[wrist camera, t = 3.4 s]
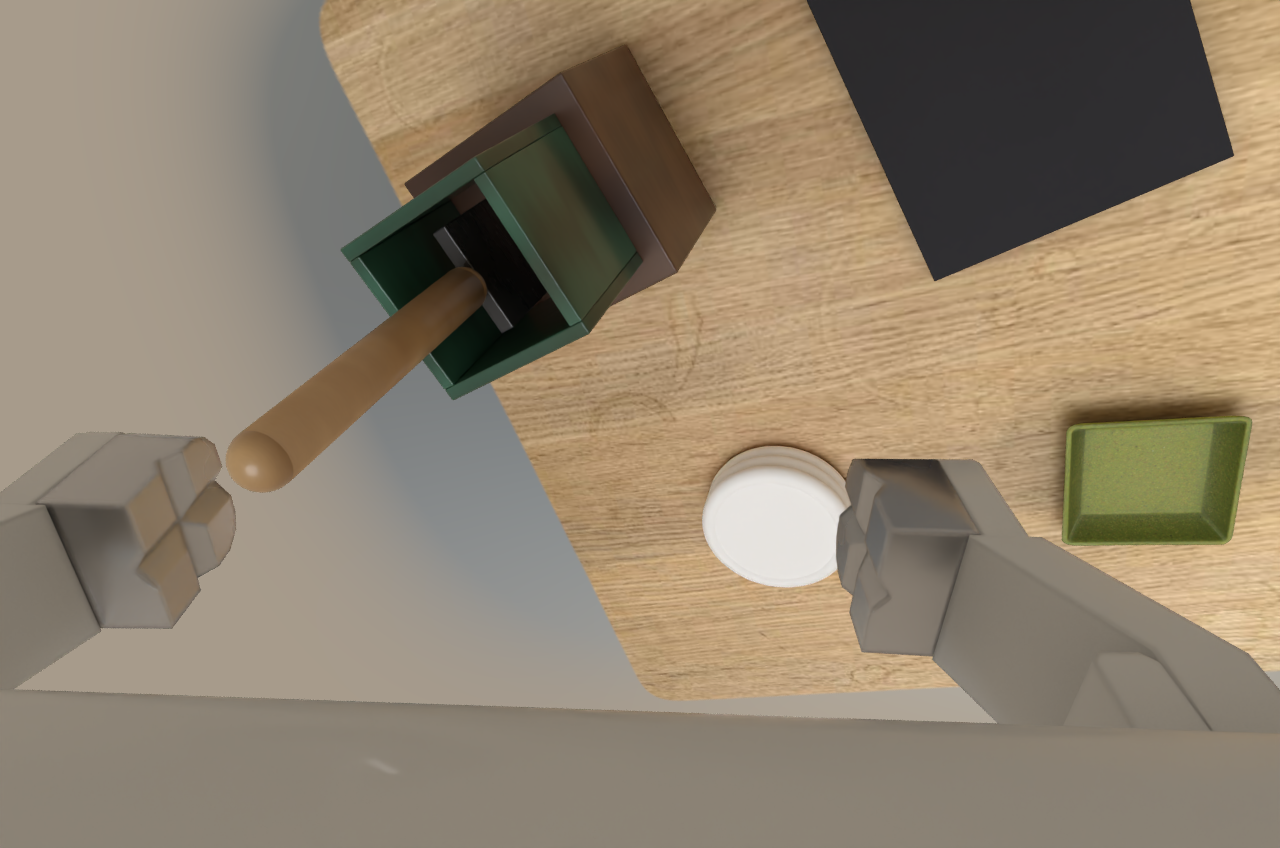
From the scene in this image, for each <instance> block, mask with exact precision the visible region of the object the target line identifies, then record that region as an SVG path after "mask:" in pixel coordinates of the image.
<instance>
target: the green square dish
mask: <svg viewBox="0 0 1280 848" xmlns="http://www.w3.org/2000/svg"><path fill="white" fill-rule="evenodd" d="M1251 428H1252V420H1251V419H1250V418H1249V417H1245V416H1215V417H1197V418H1178V419H1159V420H1140V421H1121V422H1101V423H1080V424H1075V425H1073V426H1071V427H1069V428H1068V430H1067V433H1066V456H1065V480H1064V505H1063V525H1062V541H1063V542H1064V543H1066V544H1068V545H1074V546H1097V545H1223V544H1226V543H1227V542H1229V541H1230V540H1231V538H1232V536H1233V531H1234V524H1235V518H1236V512H1237V506H1238V500H1239V494H1240V489H1241V482H1242V478H1243V472H1244V466H1245V461H1246V456H1247V450H1248V445H1249V439H1250V433H1251Z"/></svg>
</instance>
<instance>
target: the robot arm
mask: <svg viewBox="0 0 1280 848" xmlns="http://www.w3.org/2000/svg"><path fill="white" fill-rule="evenodd" d="M221 468H222V464H221V461H220V458H219V455H218V453H217V450H216V447H215V444H213V443H212V442H210V441H209V440H208V439H206V438H205V437H193V436H174V435H155V434H136V433H127V434H125V433H121V432H86V433H78V434H75V435H74V436H73V437H71V438H70V439H69V440H67V441H66V442H65V443H64V444H62V445H61V446H60V447H58V448H57V449H56V450H55V451H53V452H52V453H51V454H50V455H48V456H47V457H46V458H44V459H43V460H42V461H40V462H39V463H38V464H36V465H35V466H34V467H33V468H31V469H30V470H29V471H27V472H26V473H25V474H24V475H22V476H21V477H20V478H18V479H17V480H16V481H14V482H13V483H12V484H11V485H9V486H8V487H7V488H5V489H4V490H3V491H2V492H0V848H1280V690H1279V688H1277V686H1276V685H1275V684H1274V683H1273V681H1272V680H1271V679H1270V678H1269V677H1268V676H1267V675H1266V673H1265V672H1264V671H1263V670H1262V669H1261V668H1260V666H1259V665H1258V664H1257V663H1256V662H1255V661H1254V659H1253V658H1252V657H1251V656H1250V655H1249V654H1248V653H1246V652H1244V651H1243V650H1241V649H1239V648H1237V647H1236V646H1234V645H1232V644H1230V643H1228V642H1227V641H1225V640H1223V639H1221V638H1220V637H1218V636H1216V635H1214V634H1212V633H1211V632H1209V631H1207V630H1205V629H1204V628H1202V627H1200V626H1198V625H1197V624H1195V623H1193V622H1191V621H1189V620H1188V619H1186V618H1184V617H1182V616H1181V615H1179V614H1177V613H1175V612H1173V611H1172V610H1170V609H1168V608H1166V607H1165V606H1163V605H1161V604H1159V603H1157V602H1156V601H1154V600H1152V599H1150V598H1149V597H1147V596H1145V595H1143V594H1141V593H1140V592H1138V591H1136V590H1134V589H1133V588H1131V587H1129V586H1127V585H1126V584H1124V583H1122V582H1120V581H1118V580H1117V579H1115V578H1113V577H1111V576H1110V575H1108V574H1106V573H1104V572H1102V571H1101V570H1099V569H1097V568H1095V567H1094V566H1092V565H1090V564H1088V563H1086V562H1085V561H1083V560H1081V559H1079V558H1078V557H1076V556H1074V555H1072V554H1071V553H1069V552H1067V551H1065V550H1063V549H1062V548H1060V547H1058V546H1056V545H1055V544H1053V543H1051V542H1049V541H1047V540H1046V539H1044V538H1042V537H1029V536H1028V535H1027V533H1026V532H1025V530H1024V529H1023V527H1022V526H1021V524H1020V523H1019V521H1018V520H1017V518H1016V517H1015V515H1014V513H1013V512H1012V510H1011V509H1010V507H1009V506H1008V504H1007V503H1006V501H1005V500H1004V498H1003V497H1002V495H1001V494H1000V492H999V491H998V489H997V488H996V486H995V485H994V483H993V482H992V480H991V479H990V477H989V476H988V474H987V473H986V471H985V470H984V468H983V467H982V465H981V464H980V463H979V462H977V461H975V460H973V459H853V460H852V462H851V465H850V467H849V470H848V474H847V479H846V484H845V488H846V491H847V494H848V497H849V500H850V503H851V505H850V506H849V507H848V508H847V509H846V510H845V511H844V512H842V513H841V514H840V516H839V522H838V528H837V535H836V562H837V569H838V574H839V578H840V581H841V585H842V587H843V588H844V589H845V590H847V591H848V592H849V593H850V594H852V595H853V597H852V602H851V607H850V616H851V619H852V622H853V625H854V629H855V632H856V635H857V638H858V642H859V645H860V648H861V651H862V652H869V653H885V654H902V655H919V656H933V659H932V660H933V661H934V662H935V663H936V664H937V665H939V666H940V667H941V668H942V669H943V670H944V671H945V672H946V673H947V674H948V675H949V676H950V677H951V678H952V679H953V680H954V681H955V682H956V683H957V684H958V685H959V686H960V687H961V688H962V689H963V690H964V691H965V692H966V693H967V694H968V695H969V696H970V697H972V698H973V700H974V701H975V702H976V703H977V704H979V705H980V706H981V707H982V708H983V709H984V710H985V711H986V712H987V713H988V714H989V715H990V716H991V717H992V718H993V719H994V720H995V721H996V722H997V723H998V724H996V723H995V724H994V723H967V722H966V723H965V722H936V721H905V720H876V719H848V718H847V719H846V718H818V717H790V716H789V717H788V716H762V715H761V716H760V715H734V714H705V713H676V712H648V711H619V710H618V711H617V710H591V709H562V708H560V709H559V708H534V707H503V706H502V707H501V706H473V705H472V706H471V705H441V704H413V703H385V702H355V701H328V700H299V699H269V698H242V697H213V696H183V695H155V694H126V693H98V692H97V693H96V692H71V691H42V690H41V691H40V690H14V688H16V687H18V686H19V685H21V684H22V683H24V682H25V681H27V680H28V679H30V678H31V677H33V676H34V675H36V674H37V673H39V672H40V671H42V670H43V669H45V668H46V667H48V666H49V665H51V664H52V663H54V662H56V661H57V660H59V659H60V658H62V657H63V656H65V655H66V654H68V653H69V652H71V651H72V650H74V649H75V648H77V647H78V646H79V645H81V644H83V643H84V642H86V641H87V640H89V639H90V638H92V637H93V636H95V635H96V634H98V633H99V632H101V629H100V628H163V629H169V628H170V629H172V628H173V626H174V625H175V624H176V623H177V621H178V620H179V619H180V617H181V616H182V615H183V613H184V612H185V611H186V609H187V608H188V607H189V605H190V604H191V603H192V601H193V600H194V599H195V597H196V596H197V595H198V593H199V592H200V591H201V589H200V585H199V581H198V577H200V576H202V575H204V574H205V573H207V572H209V571H211V570H213V569H215V568H216V567H218V566H219V565H220V564H221V562H222V561H223V560H224V558H225V557H226V555H227V554H228V552H229V551H230V549H231V545H232V542H233V538H234V534H235V531H236V515H235V508H234V505H233V501H232V497H231V495H230V494H229V493H228V492H227V491H225V490H224V489H223V488H222V487H221V486H220V485H219V484H218V483H217V482H216V481H215V479H216V477H217V475H218V474H219V472H220V470H221Z"/></svg>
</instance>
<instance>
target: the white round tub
mask: <svg viewBox="0 0 1280 848" xmlns="http://www.w3.org/2000/svg"><path fill="white" fill-rule="evenodd" d="M845 484H846V482H845V480H844V479H843V477H842V476H841V475H840V474H839V473H838V472H837V471H836V470H835V469H834V468H833V467H832V466H831V465H829V464H828V463H827V462H825V461H824V460H822V459H821V458H819V457H817V456H815V455H813V454H811V453H809V452H806V451H803V450H800V449H796V448H792V447H785V446H764V447H758V448H754V449H750V450H748V451H745V452H742V453H740V454H739V455H737V456H735V457H733V458H732V459H731V460H729V461H728V462H727V463H726V464H725V465H724V466H723V467H722V468H721V469H720V470H719V471H718V473H717V474H716V475H715V477H714V479H713V481H712V484H711V487H710V490H709V493H708V496H707V499H706V502H705V505H704V508H703V515H702V525H703V531H704V535H705V538H706V541H707V543H708V545H709V547H710V548H711V550H712V551H713V553H714V554H715V556H716V557H717V558H718V559H719V560H720V561H721V562H722V563H723V564H724V565H725V566H727V567H728V568H729V569H731V570H732V571H733V572H735V573H737V574H738V575H740V576H742V577H744V578H746V579H748V580H751V581H753V582H756V583H759V584H763V585H767V586H774V587H799V586H805V585H809V584H813V583H815V582H818V581H820V580H822V579H824V578H826V577H828V576H829V575H831V574H832V573H833V572H835V571H836V570H837V562H836V535H837V528H838V522H839V516H840V514H841V513H842V512H844V511H845V510H846V509H847V508H848V507H849V506H850V505H851V503H850V500H849V497H848V494H847V491H846V488H845Z"/></svg>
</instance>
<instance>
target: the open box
mask: <svg viewBox="0 0 1280 848" xmlns="http://www.w3.org/2000/svg"><path fill="white" fill-rule="evenodd" d="M405 186H406V188H407V189H408V190H409V192H410V193H411V195H412V196H413V198H414V199H412V200H411V201H409V202H408V203H407V204H405V205H404V206H402V207H401V208H399V209H398V210H396V211H395V212H394V213H392V214H391V215H389V216H388V217H386V218H385V219H384V220H382V221H381V222H379V223H378V224H376V225H375V226H373V227H372V228H371V229H369V230H368V231H366V232H365V233H363V234H362V235H360V236H359V237H357V238H356V239H355V240H353V241H352V242H350V243H349V244H347V245H346V246H344V247H343V248H342V249H341V251H342V253H343V254H344V256H345V257H346V258H347V260H348V261H349V262H351V265H352V266H353V268H354V269H355V270H356V272H357V273H358V274H359V276H360V277H361V278H362V280H363V281H364V282H365V284H366V285H367V286H368V288H369V289H370V290H371V292H372V293H373V294H374V296H375V297H376V298H377V300H378V301H379V302H380V304H381V305H382V306H383V308H384V309H385V310H386V312H387V313H388V314H389V316H390V317H391V316H392V315H393V314H395V313H396V312H397V311H398V310H400V309H401V308H402V307H404V306H405V305H406V304H408V303H409V302H410V301H411V300H413V299H414V298H415V297H417V296H418V295H419V294H420V293H422V292H423V291H424V290H426V289H427V288H428V287H430V286H431V285H432V284H433V283H435V282H436V281H437V280H439V279H440V278H441V277H442V276H444V275H445V274H446V273H448V272H449V271H450V270H452V269H455V268H456V267H455V265H454V264H453V262H452V261H451V259H450V258H449V257H448V255H447V254H446V252H445V251H444V249H443V248H442V247H441V245H440V244H439V242H438V241H437V239H436V238H435V236H434V235H433V233H434V232H435V231H437V230H438V229H440V228H441V227H443V226H445V225H446V224H448V223H449V222H451V221H452V220H454V219H455V218H457V217H458V216H460V215H461V214H463V213H464V212H466V211H467V210H469V209H470V208H472V207H473V206H475V205H476V204H478V203H479V202H481V201H482V200H484V199H485V198H486V199H487V201H488V202H489V204H490V205H491V207H492V208H493V210H494V211H495V213H496V215H497V216H498V218H499V219H500V221H501V222H502V224H503V225H504V227H505V228H506V230H507V231H508V233H509V234H510V236H511V237H512V239H513V240H514V242H515V243H516V245H517V247H518V248H519V250H520V251H521V253H522V254H523V256H524V257H525V259H526V260H527V262H528V263H529V265H530V266H531V268H532V269H533V271H534V272H535V274H536V275H537V277H538V278H539V280H540V282H541V283H542V285H543V286H544V288H545V289H546V291H547V293H546V294H545V295H544V296H543V297H542V298H541V299H540V300H539V301H538V302H537V303H536V304H535V305H534V306H533V307H532V308H531V310H530V311H529V312H528V313H527V314H526V315H525V316H524V317H523V318H522V319H521V320H520V321H519V322H518V323H517V324H516V325H515V326H514V327H513V328H512V329H510V330H508V331H506V332H504V333H501V331H500V330H499V329H498V327H497V326H496V324H495V323H494V321H493V320H492V319H491V317H490V316H489V314H488V313H487V311H486V310H485V308H484V307H483V306H482V305H481V307H480V308H478V309H477V310H476V311H475V312H474V313H473V314H472V315H471V316H470V317H469V318H468V319H466V320H465V321H464V322H463V323H462V324H461V325H460V326H459V327H458V328H457V329H456V330H454V331H453V332H452V333H451V334H450V335H449V336H448V337H447V338H446V339H445V340H444V341H443V342H441V343H440V344H439V345H438V346H437V347H436V348H435V349H434V350H433V351H432V352H431V353H429V354H428V355H427V356H426V357H425V358H424V359H423V361H424V363H425V364H426V365H427V367H428V368H429V369H430V371H431V372H432V373H433V375H434V376H435V377H436V379H437V380H438V381H439V383H440V384H441V386H443V388H444V389H446V392H447V393H448V395H449V396H450V397H451V399H452V400H455V399H457V398H459V397H461V396H463V395H465V394H468V393H470V392H472V391H473V390H476V389H478V388H480V387H482V386H484V385H486V384H488V383H490V382H492V381H494V380H496V379H498V378H500V377H502V376H504V375H506V374H508V373H510V372H512V371H514V370H516V369H518V368H521V367H523V366H525V365H527V364H529V363H531V362H533V361H535V360H537V359H539V358H541V357H543V356H545V355H547V354H549V353H551V352H553V351H555V350H557V349H559V348H561V347H563V346H565V345H567V344H569V343H571V342H573V341H575V340H578V339H580V338H582V337H584V336H586V335H588V334H589V333H590V332H591V331H592V329H593V328H594V327H595V325H596V324H597V323H598V321H599V320H600V319H601V317H602V316H603V315H604V313H605V312H606V311H607V309H608V308H609V307H610V306H612V305H614V304H616V303H618V302H620V301H622V300H624V299H626V298H628V297H630V296H632V295H634V294H636V293H638V292H640V291H642V290H644V289H646V288H648V287H650V286H652V285H654V284H656V283H658V282H660V281H662V280H664V279H666V278H668V277H670V276H671V275H673V274H675V273H677V272H678V270H679V269H680V267H681V266H682V264H683V262H684V261H685V259H686V258H687V256H688V254H689V253H690V251H691V250H692V248H693V246H694V245H695V243H696V242H697V240H698V238H699V237H700V235H701V234H702V232H703V230H704V229H705V227H706V226H707V224H708V222H709V221H710V219H711V218H712V216H713V214H714V213H715V211H716V208H715V206H714V204H713V202H712V201H711V199H710V197H709V195H708V193H707V191H706V190H705V188H704V186H703V184H702V182H701V180H700V179H699V177H698V175H697V173H696V171H695V170H694V168H693V166H692V164H691V162H690V160H689V159H688V157H687V155H686V153H685V151H684V149H683V148H682V146H681V144H680V142H679V140H678V138H677V137H676V135H675V133H674V131H673V129H672V127H671V126H670V124H669V122H668V120H667V118H666V116H665V115H664V113H663V111H662V109H661V107H660V105H659V104H658V102H657V100H656V98H655V96H654V95H653V93H652V91H651V89H650V87H649V85H648V84H647V82H646V80H645V78H644V76H643V74H642V73H641V71H640V69H639V67H638V65H637V63H636V62H635V60H634V58H633V56H632V54H631V52H630V51H629V49H628V47H627V45H623V46H620V47H618V48H616V49H613V50H611V51H609V52H606V53H604V54H602V55H600V56H597V57H595V58H593V59H590V60H588V61H586V62H583V63H581V64H579V65H576V66H574V67H572V68H570V69H567V70H565V71H563V72H560V73H559V74H557V75H556V76H555V77H553V78H552V79H550V80H549V81H547V82H546V83H545V84H543V85H542V86H540V87H539V88H538V89H536V90H535V91H533V92H532V93H531V94H529V95H528V96H526V97H525V98H524V99H522V100H521V101H519V102H518V103H517V104H515V105H514V106H512V107H511V108H510V109H508V110H507V111H505V112H504V113H503V114H501V115H500V116H498V117H497V118H495V119H494V120H493V121H491V122H490V123H488V124H487V125H486V126H484V127H483V128H481V129H480V130H479V131H477V132H476V133H474V134H473V135H472V136H470V137H469V138H467V139H466V140H465V141H463V142H462V143H460V144H459V145H458V146H456V147H455V148H453V149H452V150H451V151H449V152H448V153H446V154H445V155H443V156H442V157H441V158H439V159H438V160H436V161H435V162H434V163H432V164H431V165H429V166H428V167H427V168H425V169H424V170H422V171H421V172H420V173H418V174H417V175H415V176H414V177H413V178H411V179H410V180H408V181H407V182H406V183H405Z"/></svg>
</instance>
